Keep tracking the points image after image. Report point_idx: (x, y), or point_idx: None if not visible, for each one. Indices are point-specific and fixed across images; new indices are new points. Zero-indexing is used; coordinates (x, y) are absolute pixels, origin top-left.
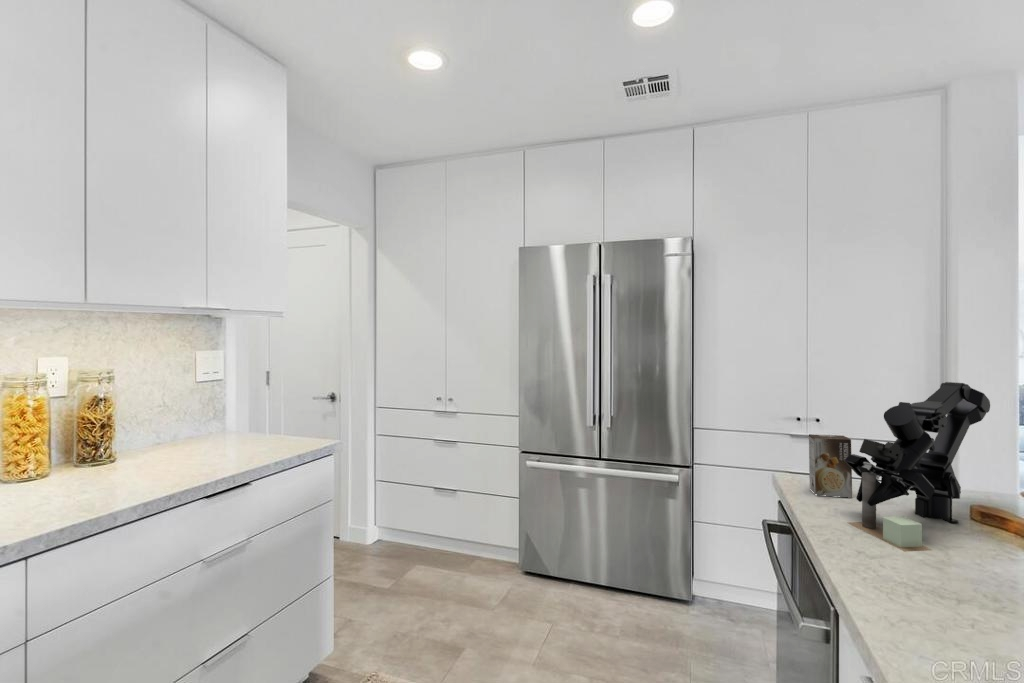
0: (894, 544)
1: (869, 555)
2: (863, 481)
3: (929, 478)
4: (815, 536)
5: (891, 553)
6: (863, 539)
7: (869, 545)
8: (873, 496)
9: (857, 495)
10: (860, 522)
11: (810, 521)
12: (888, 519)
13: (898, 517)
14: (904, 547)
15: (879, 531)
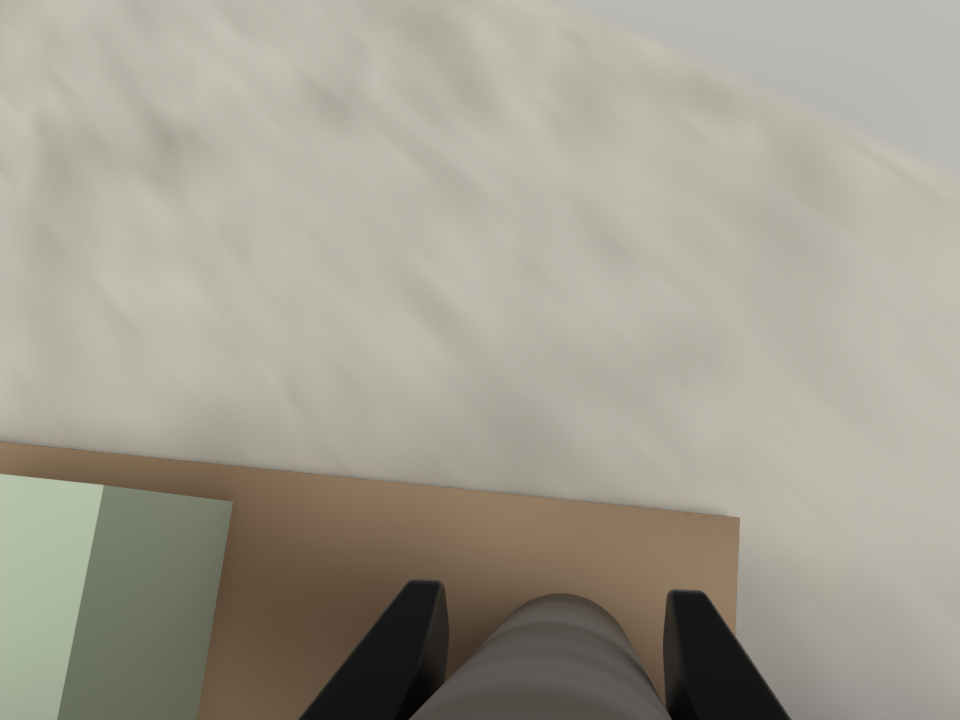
0: None
1: (94, 171)
2: (561, 690)
3: None
4: (547, 23)
5: (67, 384)
6: (385, 403)
7: (254, 339)
8: (347, 686)
9: (721, 631)
10: None
11: (954, 245)
12: (17, 481)
13: (26, 707)
14: None
15: None
